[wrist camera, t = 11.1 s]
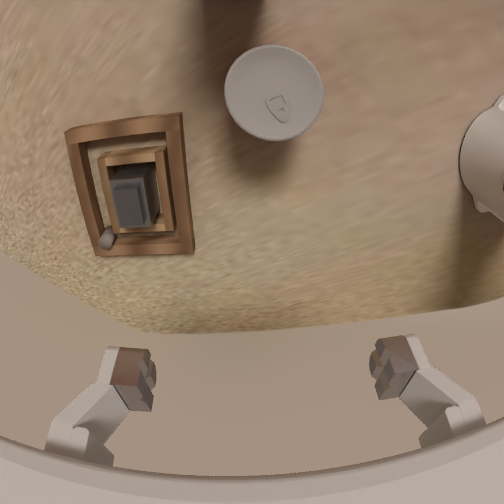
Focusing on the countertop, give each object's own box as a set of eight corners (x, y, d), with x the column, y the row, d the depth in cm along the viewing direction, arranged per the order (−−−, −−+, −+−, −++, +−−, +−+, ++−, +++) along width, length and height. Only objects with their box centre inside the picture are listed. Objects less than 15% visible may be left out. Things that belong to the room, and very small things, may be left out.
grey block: (153, 161, 36) (141, 180, 31) (160, 206, 39) (150, 230, 35) (122, 164, 36) (106, 184, 31) (131, 208, 39) (117, 232, 35)
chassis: (182, 112, 33) (177, 117, 30) (195, 244, 43) (192, 257, 40) (71, 127, 32) (60, 134, 30) (100, 247, 43) (93, 260, 40)
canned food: (260, 128, 34) (268, 160, 25) (212, 76, 31) (201, 87, 22) (314, 88, 32) (344, 104, 23) (268, 33, 28) (281, 25, 19)
